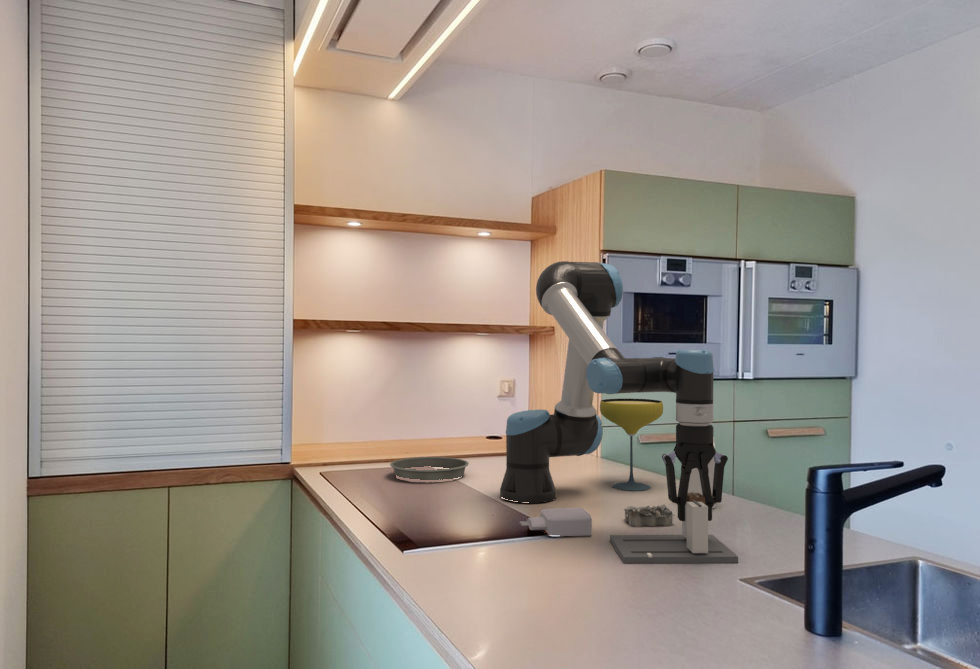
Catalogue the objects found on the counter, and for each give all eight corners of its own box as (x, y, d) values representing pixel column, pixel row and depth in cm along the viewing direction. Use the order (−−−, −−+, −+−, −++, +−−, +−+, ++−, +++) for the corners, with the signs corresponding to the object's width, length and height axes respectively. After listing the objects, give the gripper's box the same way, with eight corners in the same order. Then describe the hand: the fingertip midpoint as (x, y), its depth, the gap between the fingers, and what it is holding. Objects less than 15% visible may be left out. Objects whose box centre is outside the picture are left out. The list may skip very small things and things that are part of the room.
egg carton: (629, 528, 159) (629, 510, 159) (622, 519, 167) (622, 502, 167) (675, 527, 160) (675, 509, 160) (666, 518, 167) (666, 501, 167)
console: (624, 563, 133) (624, 555, 133) (609, 540, 149) (609, 533, 149) (738, 563, 133) (738, 555, 133) (712, 540, 149) (712, 532, 149)
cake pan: (483, 479, 215) (483, 464, 215) (413, 488, 202) (413, 473, 202) (443, 466, 236) (443, 453, 236) (377, 475, 222) (377, 460, 222)
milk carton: (715, 509, 176) (715, 433, 176) (686, 507, 178) (686, 433, 178) (712, 502, 183) (712, 430, 183) (684, 501, 184) (684, 429, 185)
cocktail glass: (631, 478, 215) (631, 397, 215) (676, 488, 200) (676, 401, 200) (587, 485, 205) (587, 400, 205) (631, 496, 190) (631, 405, 190)
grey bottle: (516, 529, 159) (580, 526, 161) (524, 540, 149) (592, 537, 152) (516, 508, 159) (580, 505, 161) (524, 518, 149) (591, 515, 152)
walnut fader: (690, 541, 143) (690, 496, 143) (684, 535, 147) (684, 491, 147) (705, 541, 143) (704, 495, 143) (699, 535, 147) (698, 491, 147)
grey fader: (692, 553, 135) (692, 505, 135) (686, 546, 139) (686, 500, 139) (708, 553, 135) (707, 505, 135) (701, 546, 139) (701, 500, 139)
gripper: (660, 425, 141) (660, 541, 141) (739, 425, 141) (740, 541, 141) (651, 421, 149) (651, 531, 148) (726, 421, 149) (727, 531, 149)
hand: (694, 536), depth 145 cm, fingers closed on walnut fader, 3 cm apart
